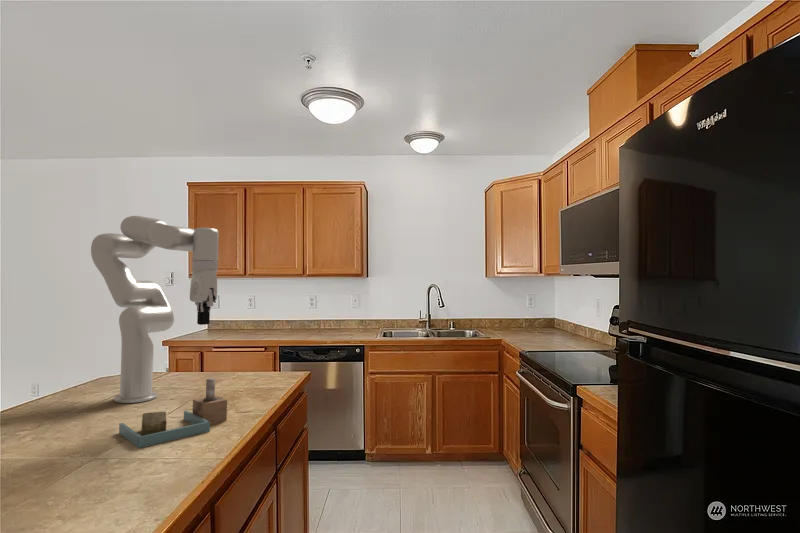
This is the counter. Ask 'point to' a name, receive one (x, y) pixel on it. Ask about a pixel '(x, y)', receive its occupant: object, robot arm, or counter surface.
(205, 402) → the block with knob
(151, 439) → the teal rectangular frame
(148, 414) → the stone block
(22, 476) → the counter surface
